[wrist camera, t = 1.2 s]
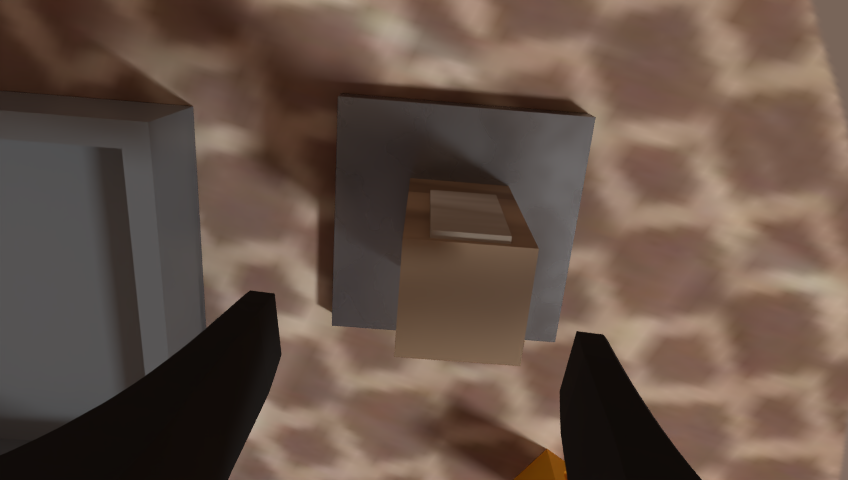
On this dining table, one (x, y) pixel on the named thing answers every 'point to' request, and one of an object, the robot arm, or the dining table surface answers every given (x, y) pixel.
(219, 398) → the robot arm
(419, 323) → the small brown box
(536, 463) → the yellow u-shaped block
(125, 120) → the bin
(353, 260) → the stud plate
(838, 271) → the dining table surface
